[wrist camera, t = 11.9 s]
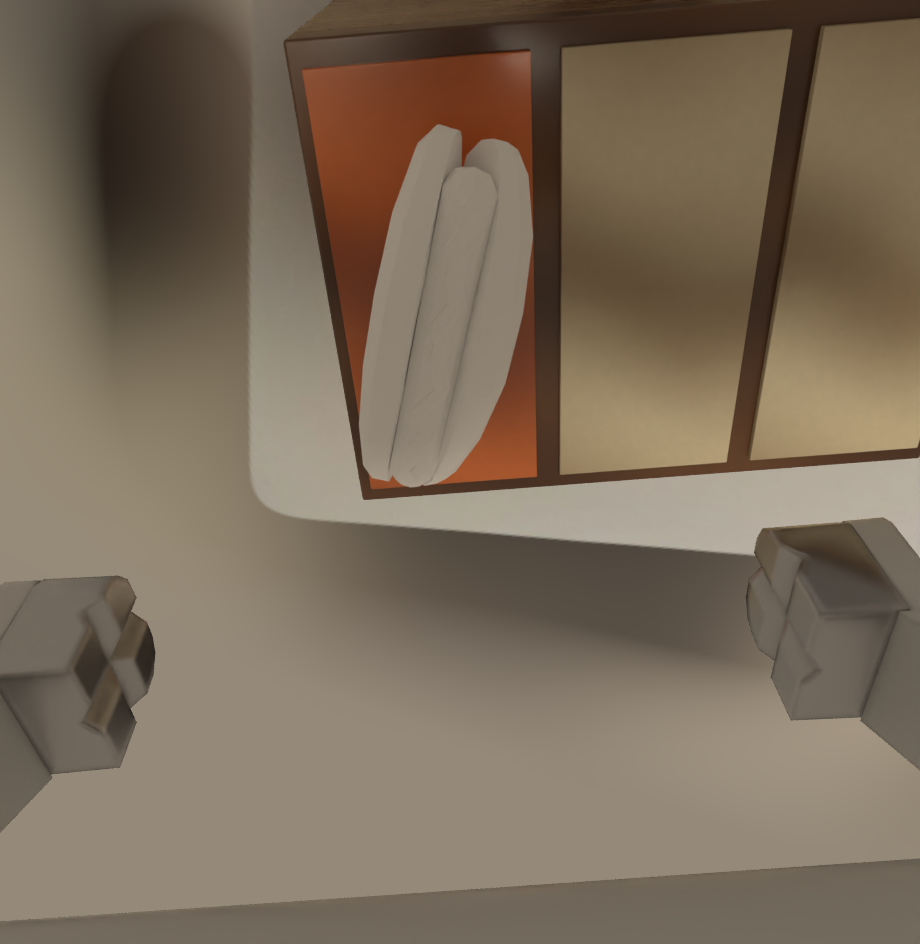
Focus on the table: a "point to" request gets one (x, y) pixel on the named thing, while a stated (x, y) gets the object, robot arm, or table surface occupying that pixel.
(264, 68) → the table surface
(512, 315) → the grey ribbed oval piece
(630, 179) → the board
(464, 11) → the oak stand
